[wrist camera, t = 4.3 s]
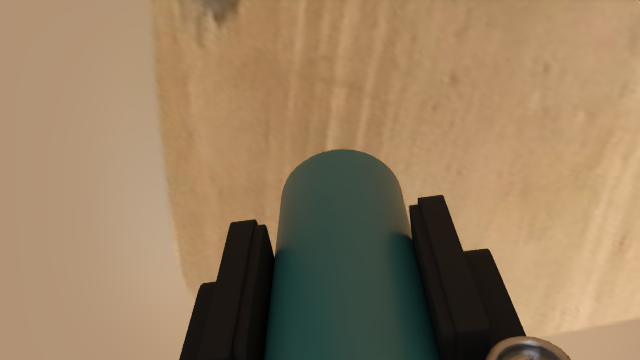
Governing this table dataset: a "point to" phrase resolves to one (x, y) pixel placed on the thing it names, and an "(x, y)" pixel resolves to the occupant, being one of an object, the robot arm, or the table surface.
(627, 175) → the table surface
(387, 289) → the peg
